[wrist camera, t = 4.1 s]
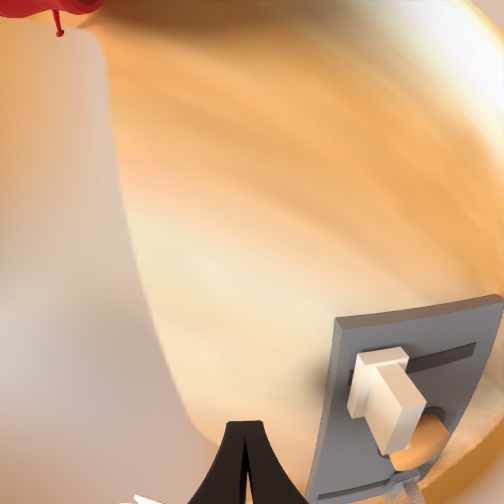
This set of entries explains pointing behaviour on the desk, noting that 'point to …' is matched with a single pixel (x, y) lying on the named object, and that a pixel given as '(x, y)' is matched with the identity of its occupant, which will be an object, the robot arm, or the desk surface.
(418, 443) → the push button
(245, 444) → the robot arm
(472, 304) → the panel
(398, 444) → the toggle lever
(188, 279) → the desk surface
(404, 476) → the grey slider knob
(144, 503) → the lotus flower
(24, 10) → the alarm clock
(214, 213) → the desk surface
